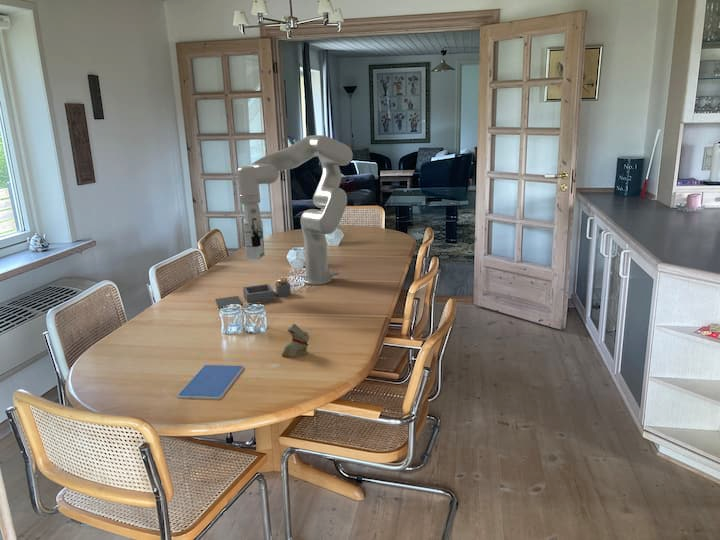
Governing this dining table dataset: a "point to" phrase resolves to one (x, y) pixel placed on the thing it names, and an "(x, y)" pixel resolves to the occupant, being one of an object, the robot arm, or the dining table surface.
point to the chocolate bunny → (296, 343)
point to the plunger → (282, 280)
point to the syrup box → (250, 250)
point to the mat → (228, 301)
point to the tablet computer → (211, 382)
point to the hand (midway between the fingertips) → (254, 243)
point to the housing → (265, 292)
